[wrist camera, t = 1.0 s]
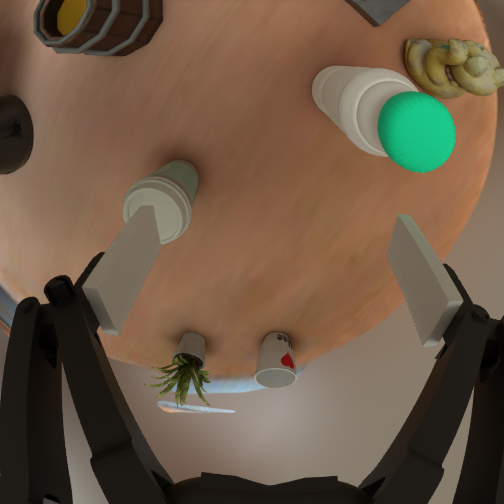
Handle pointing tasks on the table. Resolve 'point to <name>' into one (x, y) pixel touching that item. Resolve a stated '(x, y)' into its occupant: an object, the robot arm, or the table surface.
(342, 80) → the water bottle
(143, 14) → the mug
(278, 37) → the table surface
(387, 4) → the grey rectangular frame
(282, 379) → the cup
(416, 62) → the decorative figurine
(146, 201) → the coffee cup
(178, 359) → the house plant
